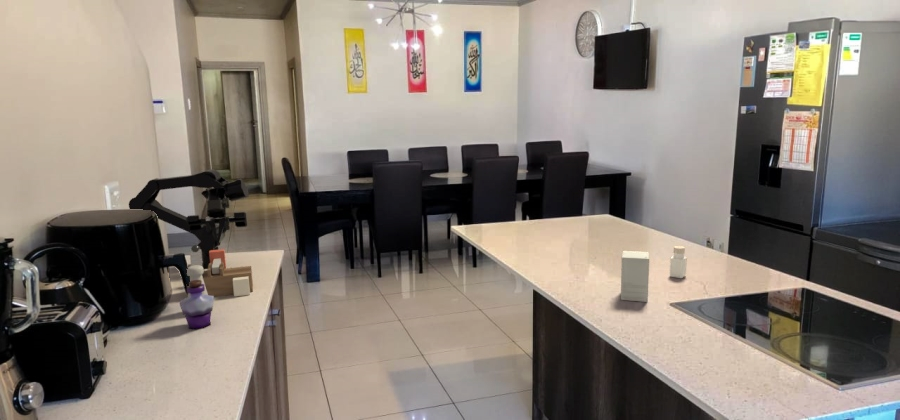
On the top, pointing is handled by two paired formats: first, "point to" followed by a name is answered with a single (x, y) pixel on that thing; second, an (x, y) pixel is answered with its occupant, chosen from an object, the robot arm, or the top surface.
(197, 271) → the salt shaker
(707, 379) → the top surface
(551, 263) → the top surface
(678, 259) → the pepper shaker
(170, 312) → the top surface
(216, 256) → the red plunger
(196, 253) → the lever
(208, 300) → the potion bottle
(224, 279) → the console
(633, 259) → the supplement box
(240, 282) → the cream button
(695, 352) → the top surface
